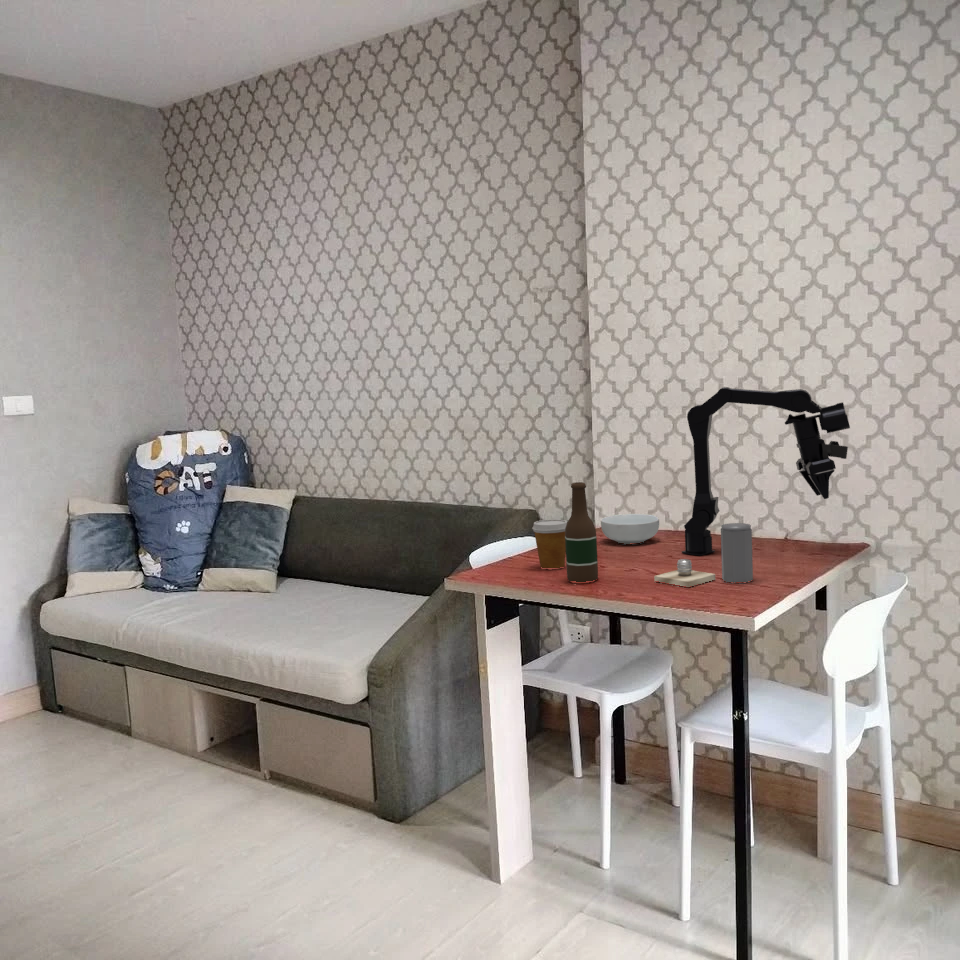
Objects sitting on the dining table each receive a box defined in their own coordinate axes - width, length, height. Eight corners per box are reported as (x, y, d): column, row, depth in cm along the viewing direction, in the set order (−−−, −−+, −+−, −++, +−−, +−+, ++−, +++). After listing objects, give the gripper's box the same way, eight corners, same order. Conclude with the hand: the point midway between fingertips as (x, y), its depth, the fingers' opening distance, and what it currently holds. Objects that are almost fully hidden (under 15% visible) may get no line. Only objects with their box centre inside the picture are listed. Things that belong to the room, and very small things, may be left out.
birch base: (654, 582, 225) (654, 575, 225) (681, 574, 231) (681, 568, 231) (688, 588, 217) (688, 581, 217) (715, 580, 223) (715, 574, 223)
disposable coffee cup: (575, 564, 250) (573, 519, 249) (563, 572, 241) (561, 525, 240) (542, 563, 254) (539, 519, 253) (528, 570, 245) (526, 525, 244)
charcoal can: (717, 580, 223) (715, 526, 221) (734, 575, 227) (732, 522, 225) (740, 584, 217) (739, 528, 216) (757, 579, 222) (756, 524, 220)
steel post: (674, 575, 224) (673, 560, 224) (683, 572, 226) (683, 558, 226) (685, 577, 221) (685, 562, 221) (695, 574, 224) (694, 560, 223)
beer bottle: (601, 577, 233) (597, 480, 230) (594, 584, 226) (590, 484, 223) (570, 576, 236) (566, 481, 233) (563, 583, 228) (558, 485, 226)
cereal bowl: (589, 544, 277) (588, 520, 277) (625, 535, 289) (624, 512, 288) (636, 549, 265) (635, 525, 264) (671, 540, 276) (670, 516, 275)
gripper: (849, 430, 231) (864, 492, 232) (832, 429, 249) (846, 486, 250) (803, 442, 233) (817, 503, 234) (789, 439, 251) (803, 496, 252)
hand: (822, 496), depth 242 cm, fingers open, 9 cm apart
